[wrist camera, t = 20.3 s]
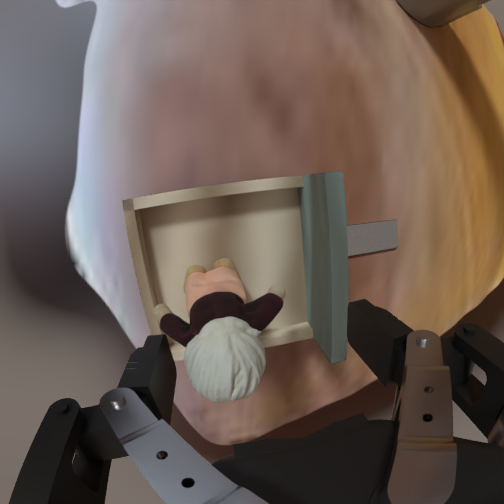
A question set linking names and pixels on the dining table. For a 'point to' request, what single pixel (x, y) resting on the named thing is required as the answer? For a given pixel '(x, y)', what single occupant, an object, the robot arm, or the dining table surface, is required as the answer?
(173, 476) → the robot arm
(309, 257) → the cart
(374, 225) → the strip
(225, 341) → the grandmother figurine
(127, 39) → the dining table surface
